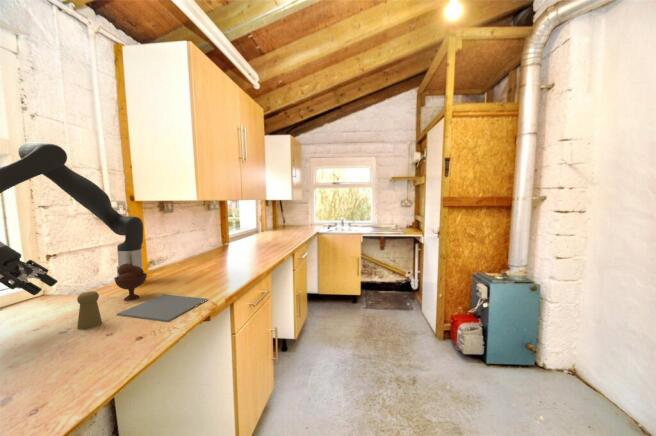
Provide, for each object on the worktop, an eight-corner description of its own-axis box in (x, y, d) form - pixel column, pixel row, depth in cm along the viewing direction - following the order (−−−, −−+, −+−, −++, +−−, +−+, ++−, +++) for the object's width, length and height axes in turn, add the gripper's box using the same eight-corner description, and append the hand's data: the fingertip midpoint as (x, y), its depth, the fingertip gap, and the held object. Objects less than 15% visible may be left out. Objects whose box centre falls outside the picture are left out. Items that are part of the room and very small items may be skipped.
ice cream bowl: (131, 304, 103) (129, 267, 102) (108, 302, 105) (106, 265, 104) (153, 295, 114) (152, 261, 113) (132, 293, 116) (131, 259, 115)
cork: (101, 319, 90) (99, 288, 90) (102, 325, 86) (100, 292, 85) (77, 325, 86) (75, 292, 85) (77, 331, 82) (75, 297, 81)
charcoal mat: (116, 315, 94) (116, 313, 94) (163, 295, 113) (163, 294, 113) (168, 321, 89) (168, 320, 89) (207, 300, 108) (207, 298, 108)
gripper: (-16, 249, 70) (44, 285, 76) (19, 241, 83) (69, 273, 89) (-44, 270, 68) (20, 306, 74) (-3, 259, 82) (49, 290, 87)
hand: (47, 288), depth 81 cm, fingers open, 8 cm apart
